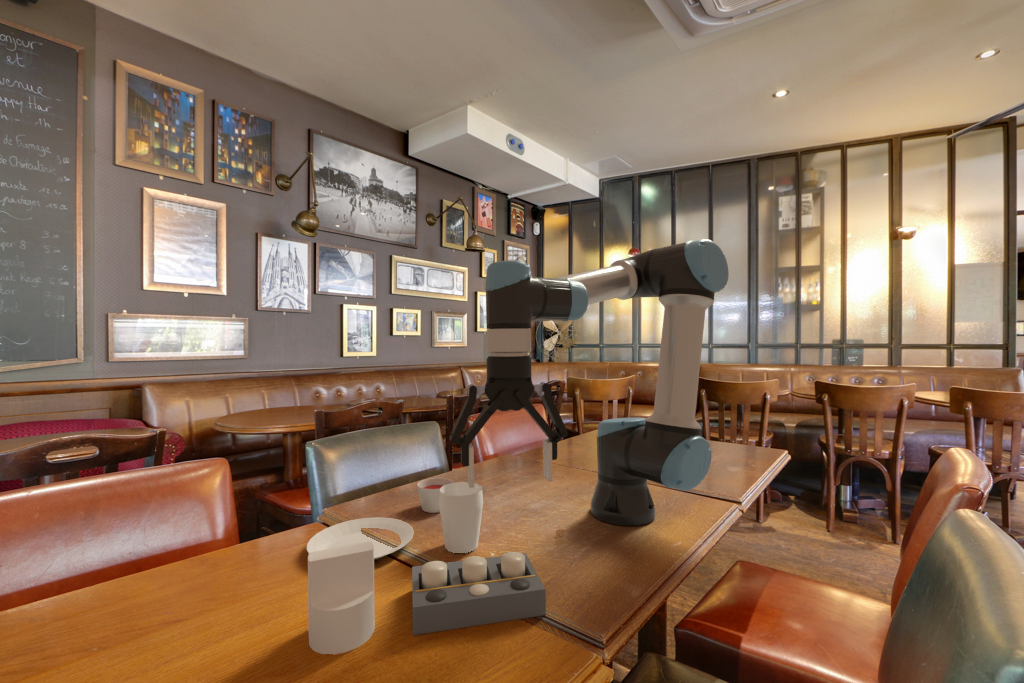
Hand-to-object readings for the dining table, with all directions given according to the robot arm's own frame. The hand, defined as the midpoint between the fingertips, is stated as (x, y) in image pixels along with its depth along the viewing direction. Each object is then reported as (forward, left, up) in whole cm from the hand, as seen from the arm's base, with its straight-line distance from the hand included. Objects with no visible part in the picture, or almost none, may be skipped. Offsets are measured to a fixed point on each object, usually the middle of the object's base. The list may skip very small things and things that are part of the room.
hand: (510, 482), depth 75 cm
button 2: (+6, 0, -16) cm, 17 cm away
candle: (+10, -42, -19) cm, 47 cm away
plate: (+26, -24, -19) cm, 40 cm away
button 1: (0, 0, -16) cm, 16 cm away
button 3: (+13, 0, -16) cm, 21 cm away
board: (+6, +1, -19) cm, 20 cm away
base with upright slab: (+26, +4, -19) cm, 33 cm away
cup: (+6, -19, -19) cm, 27 cm away
